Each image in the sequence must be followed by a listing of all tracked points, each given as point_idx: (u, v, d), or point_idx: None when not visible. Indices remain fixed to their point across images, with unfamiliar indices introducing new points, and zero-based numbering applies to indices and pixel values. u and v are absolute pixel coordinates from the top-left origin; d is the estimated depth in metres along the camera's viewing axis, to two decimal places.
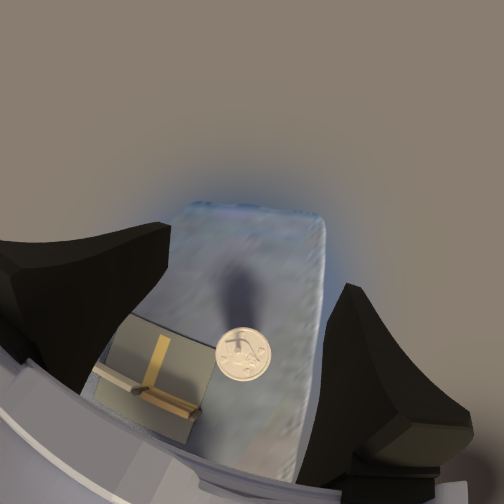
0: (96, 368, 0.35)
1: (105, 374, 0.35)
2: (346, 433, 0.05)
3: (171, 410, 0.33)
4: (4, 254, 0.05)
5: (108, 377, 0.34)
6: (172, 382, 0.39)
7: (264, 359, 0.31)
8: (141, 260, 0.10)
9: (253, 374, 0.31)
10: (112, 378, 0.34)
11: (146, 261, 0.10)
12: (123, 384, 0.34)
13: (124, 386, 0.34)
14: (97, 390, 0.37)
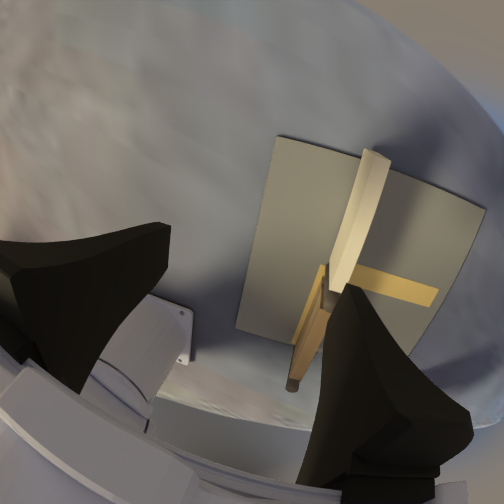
0: (376, 193, 0.13)
1: (365, 224, 0.14)
2: (346, 433, 0.05)
3: (301, 359, 0.20)
4: (4, 254, 0.05)
5: (358, 233, 0.15)
6: None
7: None
8: (141, 261, 0.10)
9: None
10: (357, 245, 0.15)
11: (146, 261, 0.10)
12: (345, 274, 0.16)
13: (341, 277, 0.16)
14: (300, 145, 0.17)
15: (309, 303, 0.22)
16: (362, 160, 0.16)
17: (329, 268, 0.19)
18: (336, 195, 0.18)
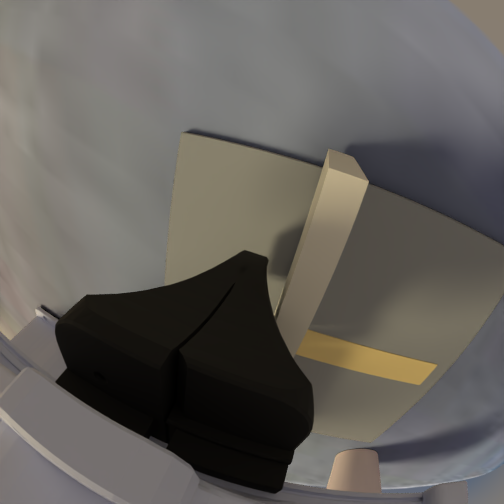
0: (332, 253, 0.07)
1: (305, 309, 0.07)
2: None
3: None
4: (123, 325, 0.04)
5: (291, 323, 0.08)
6: None
7: None
8: None
9: None
10: (290, 341, 0.08)
11: None
12: None
13: None
14: (218, 146, 0.10)
15: None
16: (322, 172, 0.09)
17: None
18: (279, 229, 0.11)
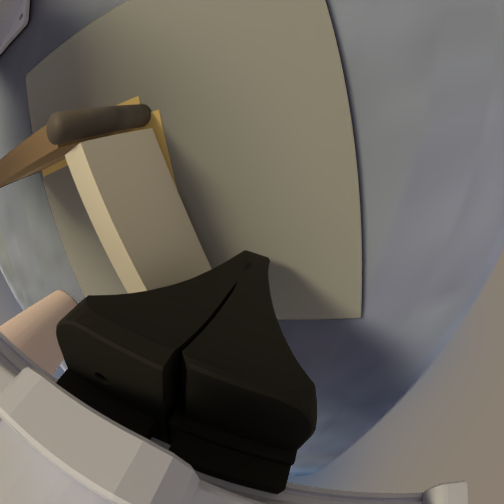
0: None
1: (125, 278, 0.09)
2: None
3: (1, 165, 0.08)
4: (125, 326, 0.04)
5: (121, 260, 0.08)
6: None
7: None
8: None
9: None
10: (108, 243, 0.08)
11: None
12: (83, 187, 0.07)
13: (84, 178, 0.07)
14: None
15: None
16: None
17: None
18: (257, 50, 0.08)
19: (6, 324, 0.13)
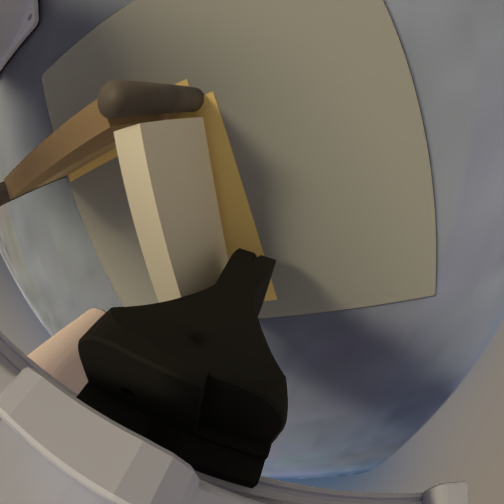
0: None
1: (158, 280, 0.08)
2: None
3: (26, 163, 0.08)
4: (157, 341, 0.04)
5: (158, 261, 0.08)
6: None
7: None
8: (257, 303, 0.09)
9: None
10: (147, 241, 0.08)
11: (259, 302, 0.10)
12: (131, 175, 0.07)
13: (134, 164, 0.07)
14: None
15: None
16: None
17: (185, 118, 0.08)
18: (316, 27, 0.07)
19: (38, 350, 0.12)
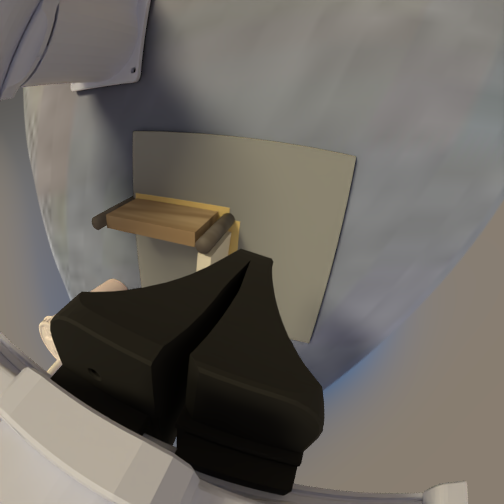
0: None
1: None
2: None
3: (132, 223, 0.18)
4: (116, 322, 0.04)
5: None
6: None
7: (46, 342, 0.21)
8: (235, 295, 0.09)
9: (42, 328, 0.20)
10: None
11: (237, 294, 0.10)
12: None
13: None
14: (347, 180, 0.18)
15: (185, 203, 0.21)
16: None
17: (224, 240, 0.20)
18: (302, 215, 0.20)
19: None
